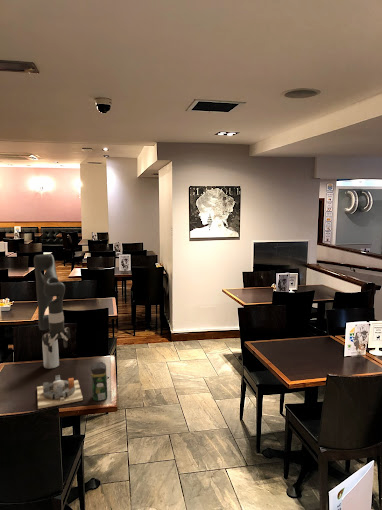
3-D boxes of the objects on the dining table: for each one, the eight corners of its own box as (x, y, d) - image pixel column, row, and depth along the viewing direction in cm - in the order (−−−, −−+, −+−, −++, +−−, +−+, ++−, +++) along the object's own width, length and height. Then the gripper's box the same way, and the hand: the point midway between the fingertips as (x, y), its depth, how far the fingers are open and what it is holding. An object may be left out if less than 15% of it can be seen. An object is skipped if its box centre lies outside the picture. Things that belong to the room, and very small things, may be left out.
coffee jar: (92, 393, 219) (90, 361, 216) (107, 391, 221) (105, 359, 218) (92, 402, 210) (90, 368, 207) (107, 400, 212) (106, 367, 209)
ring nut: (42, 387, 222) (42, 377, 221) (73, 382, 228) (72, 372, 227) (44, 401, 208) (43, 390, 207) (76, 395, 213) (75, 385, 213)
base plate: (37, 389, 224) (36, 377, 223) (78, 382, 232) (77, 370, 231) (38, 408, 204) (37, 395, 203) (82, 400, 212) (82, 387, 211)
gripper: (64, 315, 218) (66, 343, 221) (39, 322, 207) (41, 351, 210) (72, 318, 213) (73, 347, 216) (47, 325, 203) (49, 355, 205)
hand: (58, 349), depth 213 cm, fingers open, 8 cm apart
